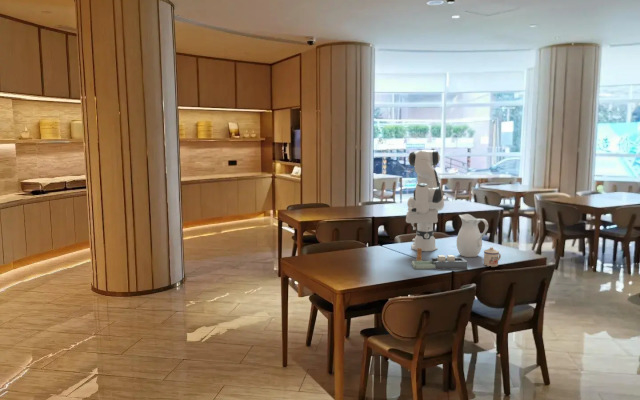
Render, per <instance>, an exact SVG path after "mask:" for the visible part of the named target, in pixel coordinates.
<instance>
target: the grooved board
mask: <svg viewBox="0 0 640 400" xmlns="http://www.w3.org/2000/svg"><path fill="white" fill-rule="evenodd" d="M431 261H432V265H436V269H435V270H444V269H443V268H467V269H468V261H467V260H466V259H465V257H464V256H462V257H461V256H460V257H458V256H457V257H455V261H447V257H446V261H438V257H431Z"/></svg>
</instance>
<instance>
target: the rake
mask: <svg viewBox="0 0 640 400" xmlns="http://www.w3.org/2000/svg"><path fill="white" fill-rule="evenodd" d="M422 252H423V251H422V249H421V248H417V250H416V258H415V259H416V260H415V261H423V259H422V258H423V257H422V255H423V254H422Z"/></svg>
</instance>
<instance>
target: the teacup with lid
mask: <svg viewBox="0 0 640 400" xmlns="http://www.w3.org/2000/svg"><path fill="white" fill-rule="evenodd" d="M500 260H501V253H500V251H499V250H496V249H495V248H494V247H493V246H491V247H489V248H488V249H485V250H484V251H483V265H484V266H485V265H487V266H486V267H489V266H491V268H495V267H498V266H499V261H500Z"/></svg>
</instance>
